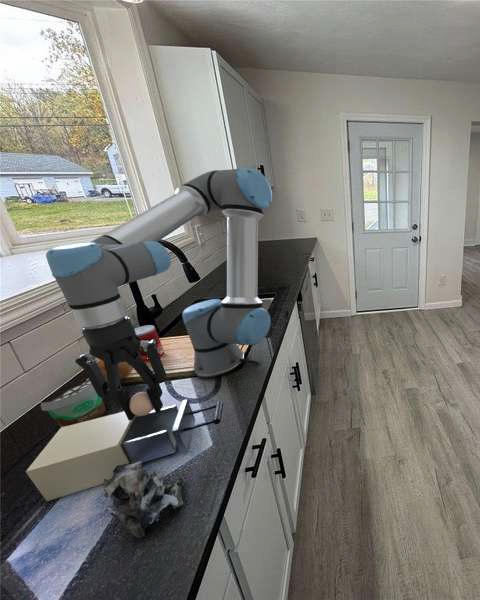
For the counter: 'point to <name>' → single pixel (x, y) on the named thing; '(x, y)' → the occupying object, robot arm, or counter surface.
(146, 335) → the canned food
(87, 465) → the cream drawer box
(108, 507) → the foil
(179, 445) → the grey drawer
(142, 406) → the egg
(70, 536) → the counter surface
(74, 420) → the food container
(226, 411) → the counter surface
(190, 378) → the counter surface
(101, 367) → the onion
